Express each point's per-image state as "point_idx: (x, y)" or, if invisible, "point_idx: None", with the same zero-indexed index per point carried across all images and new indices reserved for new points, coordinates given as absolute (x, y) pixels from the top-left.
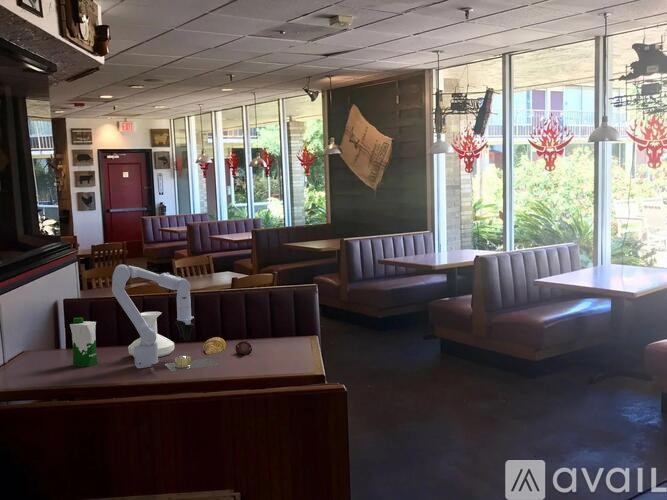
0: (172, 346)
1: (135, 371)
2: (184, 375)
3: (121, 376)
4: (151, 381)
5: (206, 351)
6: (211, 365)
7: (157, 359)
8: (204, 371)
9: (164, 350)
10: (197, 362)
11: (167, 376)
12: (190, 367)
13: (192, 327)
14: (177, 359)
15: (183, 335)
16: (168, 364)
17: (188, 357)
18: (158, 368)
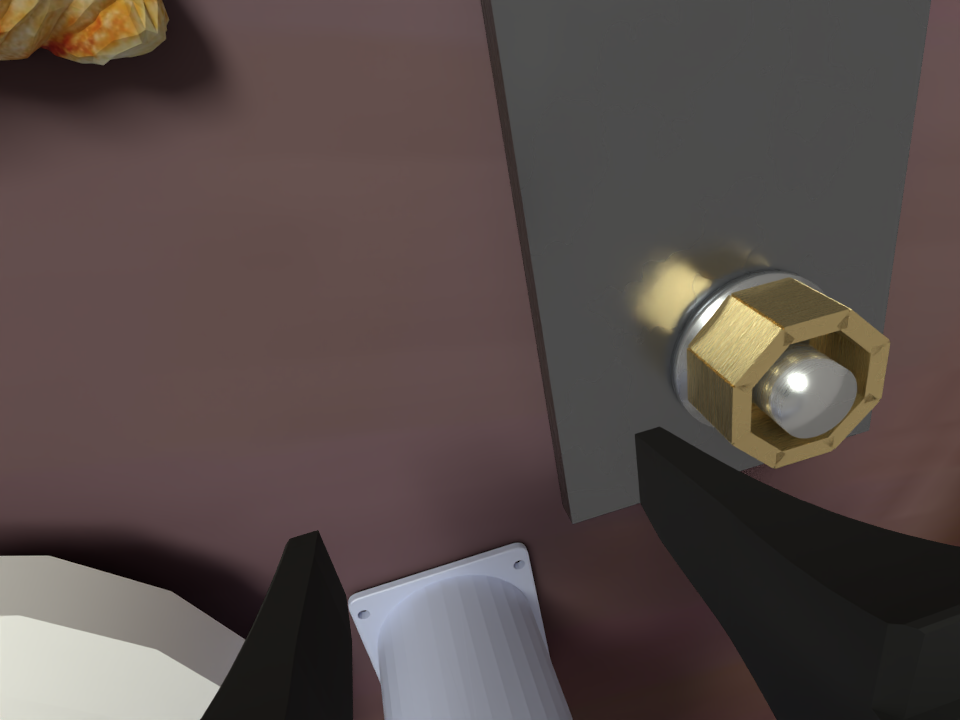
0: (29, 602)
1: (620, 660)
2: (957, 307)
3: (716, 695)
4: (955, 511)
5: (118, 49)
6: (907, 23)
7: (492, 609)
8: (945, 117)
9: (198, 638)
10: (665, 201)
11: (898, 433)
12: (847, 273)
13: (944, 554)
14: (840, 436)
15: (697, 586)
16: (613, 486)
17: (845, 332)
18: (600, 538)
